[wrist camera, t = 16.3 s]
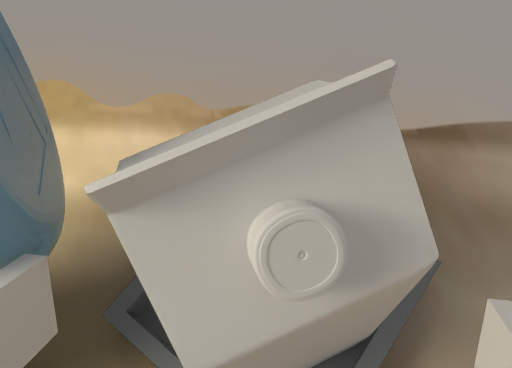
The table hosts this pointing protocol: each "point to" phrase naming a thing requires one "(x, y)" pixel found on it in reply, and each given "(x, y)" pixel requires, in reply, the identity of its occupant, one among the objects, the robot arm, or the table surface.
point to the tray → (344, 364)
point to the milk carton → (276, 226)
